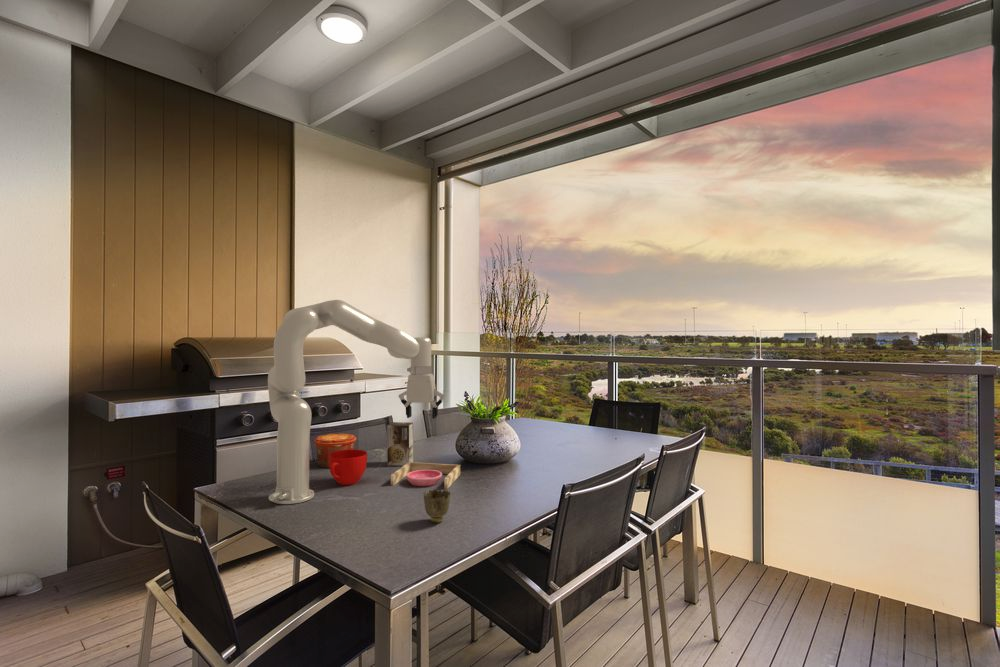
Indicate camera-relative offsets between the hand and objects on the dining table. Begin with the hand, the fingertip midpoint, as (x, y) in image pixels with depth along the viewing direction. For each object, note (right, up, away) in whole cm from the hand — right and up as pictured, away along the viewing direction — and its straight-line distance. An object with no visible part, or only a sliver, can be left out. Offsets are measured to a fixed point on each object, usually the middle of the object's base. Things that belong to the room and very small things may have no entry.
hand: (421, 417), depth 187 cm
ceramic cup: (-25, -21, -11) cm, 35 cm away
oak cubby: (+2, -21, -6) cm, 22 cm away
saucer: (+2, -22, -8) cm, 23 cm away
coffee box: (-11, -21, +16) cm, 29 cm away
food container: (-37, -21, +15) cm, 45 cm away
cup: (+11, -22, -45) cm, 51 cm away
